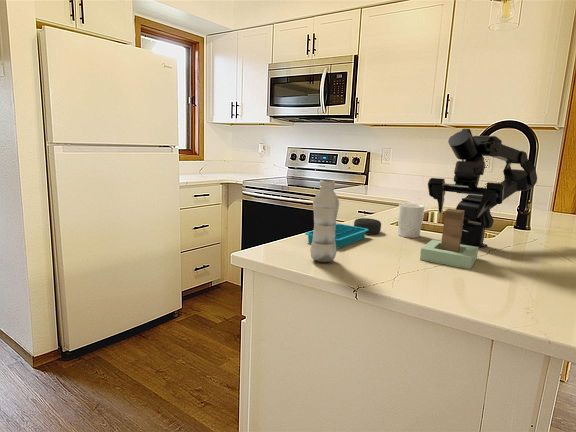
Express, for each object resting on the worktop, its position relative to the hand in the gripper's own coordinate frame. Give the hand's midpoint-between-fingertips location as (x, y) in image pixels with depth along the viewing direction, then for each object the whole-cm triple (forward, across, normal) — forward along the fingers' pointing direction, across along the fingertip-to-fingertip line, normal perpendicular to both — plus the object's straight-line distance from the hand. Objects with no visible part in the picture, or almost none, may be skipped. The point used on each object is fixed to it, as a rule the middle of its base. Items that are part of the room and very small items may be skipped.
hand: (457, 214), depth 104 cm
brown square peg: (+10, 0, +6) cm, 12 cm away
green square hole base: (+10, 0, +6) cm, 12 cm away
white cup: (-4, -17, +20) cm, 27 cm away
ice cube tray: (+12, -32, +6) cm, 35 cm away
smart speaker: (0, -30, +17) cm, 34 cm away
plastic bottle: (+27, -25, -10) cm, 39 cm away
